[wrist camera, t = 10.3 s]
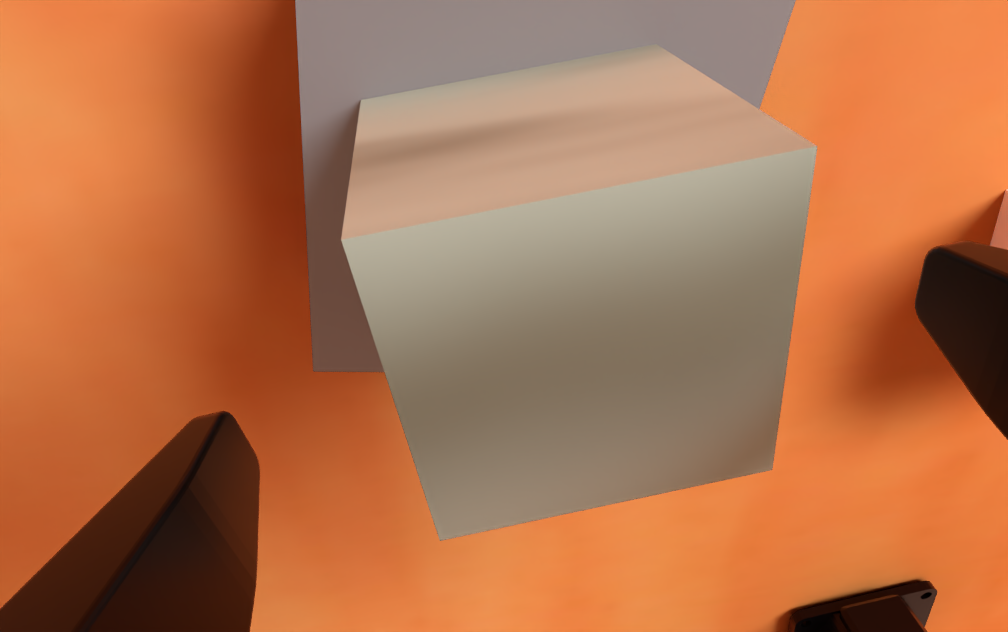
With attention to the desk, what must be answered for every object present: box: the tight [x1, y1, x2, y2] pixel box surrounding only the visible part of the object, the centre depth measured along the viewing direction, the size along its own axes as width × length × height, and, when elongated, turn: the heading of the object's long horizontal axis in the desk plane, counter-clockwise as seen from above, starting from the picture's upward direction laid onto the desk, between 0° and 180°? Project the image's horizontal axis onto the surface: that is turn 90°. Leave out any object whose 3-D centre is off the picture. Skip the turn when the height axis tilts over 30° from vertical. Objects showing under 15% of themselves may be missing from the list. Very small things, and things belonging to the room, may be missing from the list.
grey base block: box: [295, 0, 796, 372], centre depth 14 cm, size 8×8×4 cm
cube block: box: [341, 44, 817, 541], centre depth 10 cm, size 5×5×5 cm
